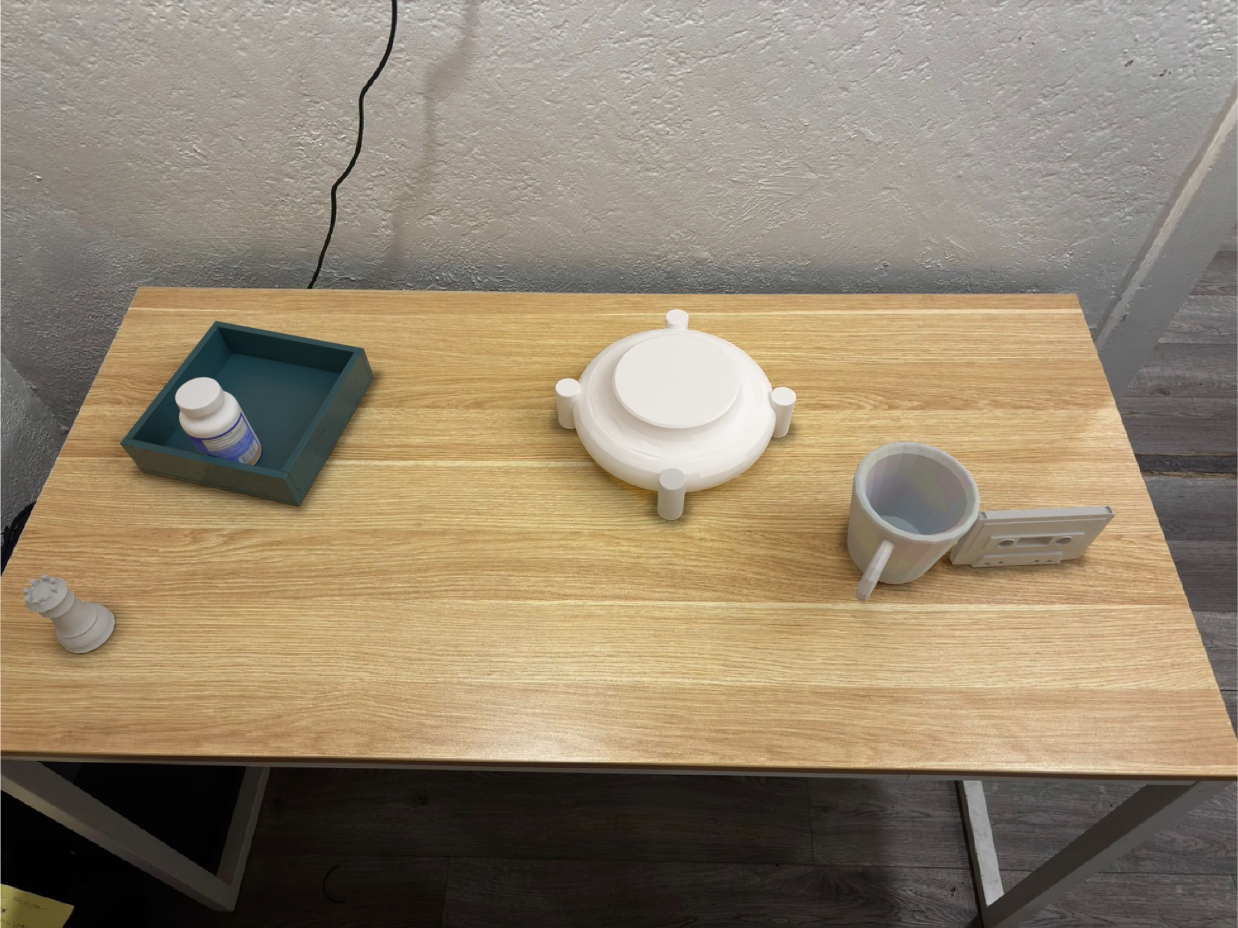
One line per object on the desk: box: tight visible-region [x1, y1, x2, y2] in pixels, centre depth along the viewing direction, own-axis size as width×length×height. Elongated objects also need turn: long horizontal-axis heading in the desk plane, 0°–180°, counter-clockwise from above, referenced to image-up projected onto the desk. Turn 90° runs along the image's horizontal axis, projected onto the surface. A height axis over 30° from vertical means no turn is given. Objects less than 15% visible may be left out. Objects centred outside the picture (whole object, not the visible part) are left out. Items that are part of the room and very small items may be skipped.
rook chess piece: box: [22, 574, 116, 654], centre depth 71 cm, size 4×4×8 cm
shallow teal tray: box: [119, 320, 375, 507], centre depth 86 cm, size 18×18×5 cm
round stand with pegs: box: [554, 308, 797, 521], centre depth 84 cm, size 24×24×7 cm
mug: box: [846, 440, 981, 603], centre depth 73 cm, size 10×15×10 cm
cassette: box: [949, 505, 1116, 568], centre depth 74 cm, size 12×2×8 cm, turn 93°
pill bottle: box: [175, 377, 261, 465], centre depth 81 cm, size 5×5×10 cm
